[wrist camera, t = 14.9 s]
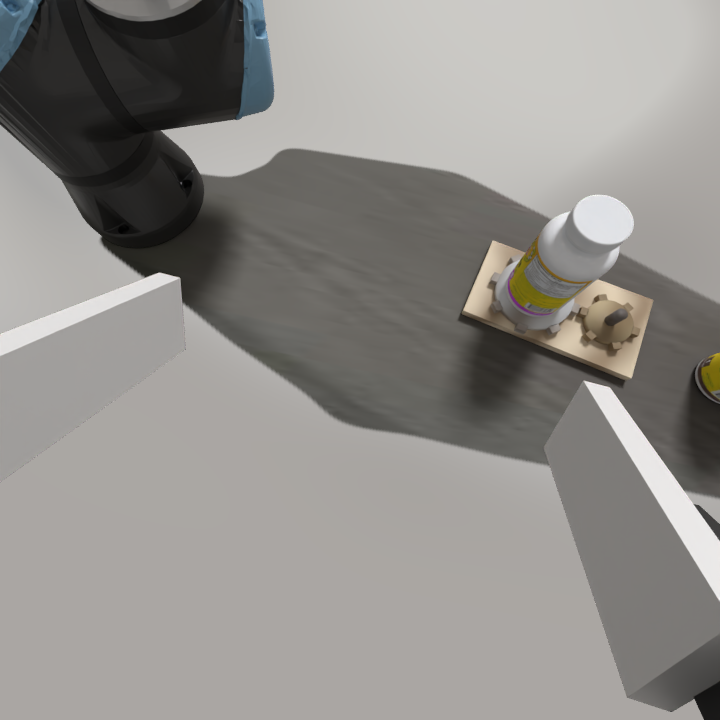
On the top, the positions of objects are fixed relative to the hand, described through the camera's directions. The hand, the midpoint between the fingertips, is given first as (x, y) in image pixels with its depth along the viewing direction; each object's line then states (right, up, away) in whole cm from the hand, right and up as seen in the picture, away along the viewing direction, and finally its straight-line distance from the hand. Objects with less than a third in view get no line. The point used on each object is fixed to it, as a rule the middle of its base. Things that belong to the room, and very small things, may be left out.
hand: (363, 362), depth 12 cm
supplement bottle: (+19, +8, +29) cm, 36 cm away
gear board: (+22, +6, +30) cm, 38 cm away
